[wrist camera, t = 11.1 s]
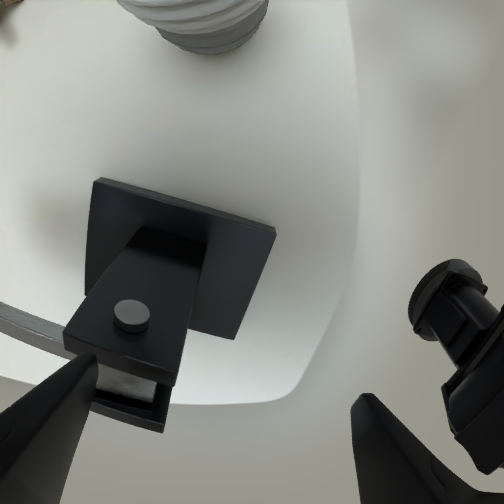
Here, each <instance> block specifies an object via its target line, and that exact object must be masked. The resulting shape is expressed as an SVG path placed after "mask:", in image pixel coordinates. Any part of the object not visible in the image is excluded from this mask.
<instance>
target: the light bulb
mask: <svg viewBox="0 0 504 504" xmlns="http://www.w3.org/2000/svg"><path fill="white" fill-rule="evenodd" d="M116 1H117V2H118V4H120V5H121V6H122V7H123V8H124V9H125V10H127V11H128V12H130V13H132V14H134V15H135V16H136V17H137V18H138V19H139V20H141V21H143V22H145V23H146V24H148V25H152V26H155V27H156V29H157V30H158V31H159V33H160V34H161V35H162V37H163V38H164V39H166V40H168V41H169V42H171V43H173V44H175V45H176V46H178V47H180V48H181V49H183V50H186V51H190V52H193V53H197V54H205V55H213V54H218V53H224V52H227V51H230V50H232V49H235V48H237V47H240V46H241V45H242V44H244V43H245V42H246V41H247V40H249V39H250V38H251V37H252V36H253V34H254V33H255V32H256V31H257V30H258V28H259V26H260V24H261V22H262V20H263V18H264V16H265V14H266V11H267V7H268V2H269V1H268V0H116Z"/></svg>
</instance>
